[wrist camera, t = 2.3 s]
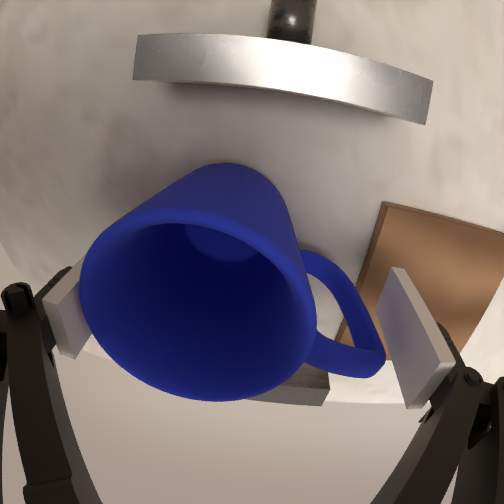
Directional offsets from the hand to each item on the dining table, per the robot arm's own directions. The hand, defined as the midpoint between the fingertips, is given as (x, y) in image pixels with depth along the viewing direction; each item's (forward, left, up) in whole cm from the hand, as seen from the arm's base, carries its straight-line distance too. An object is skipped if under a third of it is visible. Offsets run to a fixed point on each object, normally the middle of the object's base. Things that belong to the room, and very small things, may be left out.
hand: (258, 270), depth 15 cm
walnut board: (+3, +13, -4) cm, 14 cm away
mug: (0, 0, -5) cm, 5 cm away
